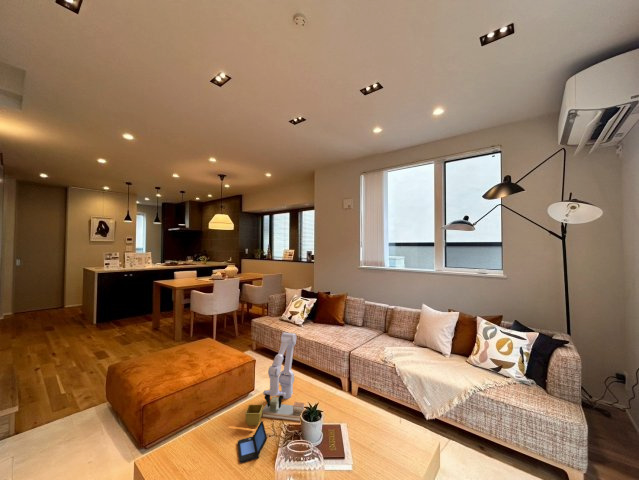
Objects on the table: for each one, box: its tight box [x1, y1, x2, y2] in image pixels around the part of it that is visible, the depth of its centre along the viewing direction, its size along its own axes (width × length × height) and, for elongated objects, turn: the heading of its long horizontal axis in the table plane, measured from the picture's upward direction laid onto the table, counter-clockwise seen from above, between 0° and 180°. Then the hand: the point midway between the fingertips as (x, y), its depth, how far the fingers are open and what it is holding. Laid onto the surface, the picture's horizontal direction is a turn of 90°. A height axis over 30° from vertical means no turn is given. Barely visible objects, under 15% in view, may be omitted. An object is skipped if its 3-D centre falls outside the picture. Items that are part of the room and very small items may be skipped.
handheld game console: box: [237, 420, 268, 464], centre depth 138 cm, size 16×13×9 cm
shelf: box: [261, 403, 301, 422], centre depth 168 cm, size 15×30×3 cm, turn 79°
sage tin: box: [270, 396, 279, 412], centre depth 171 cm, size 4×6×6 cm
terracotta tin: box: [293, 401, 305, 416], centre depth 165 cm, size 4×6×6 cm
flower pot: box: [244, 404, 264, 427], centre depth 158 cm, size 9×9×9 cm
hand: (274, 406), depth 171 cm, fingers open, 7 cm apart
